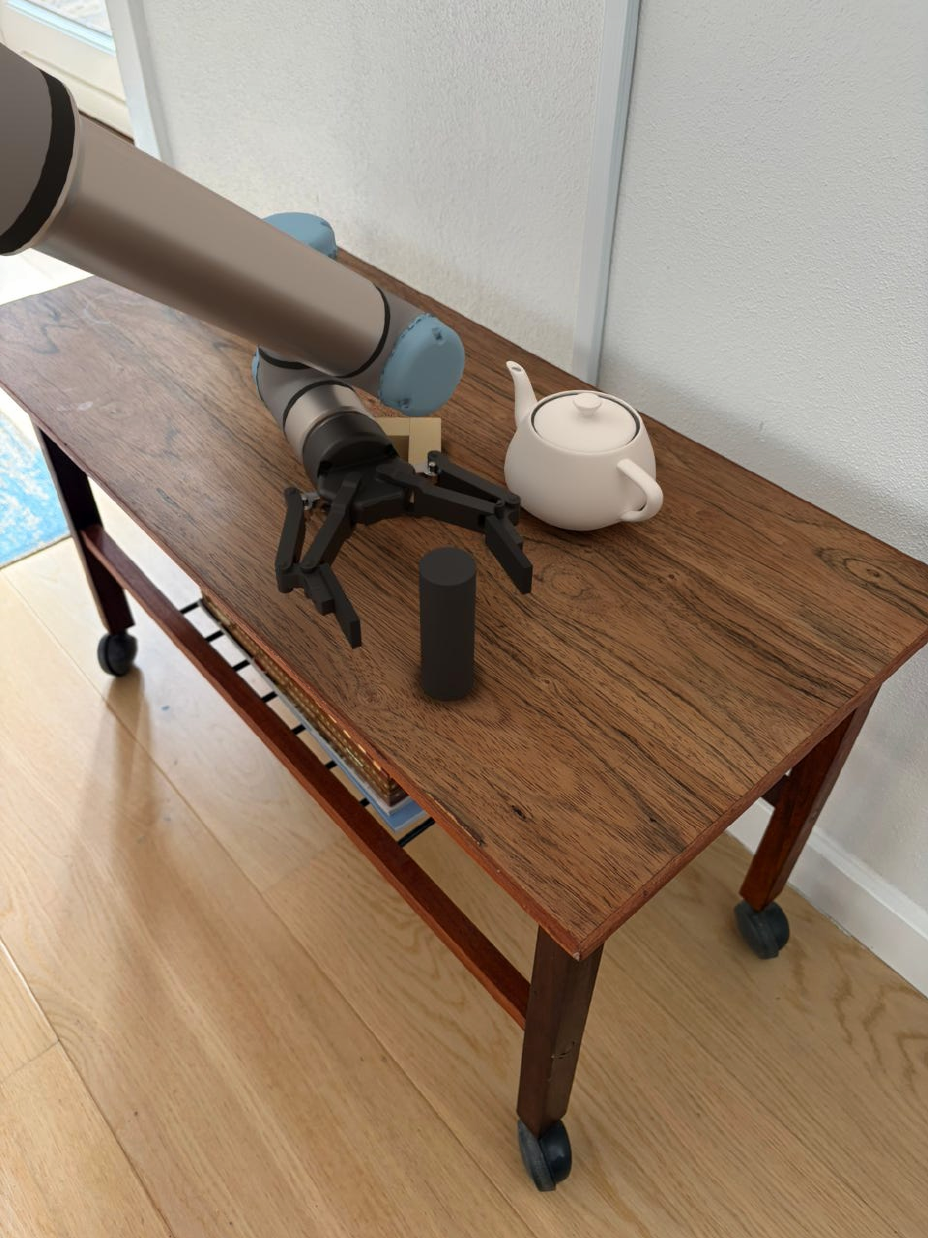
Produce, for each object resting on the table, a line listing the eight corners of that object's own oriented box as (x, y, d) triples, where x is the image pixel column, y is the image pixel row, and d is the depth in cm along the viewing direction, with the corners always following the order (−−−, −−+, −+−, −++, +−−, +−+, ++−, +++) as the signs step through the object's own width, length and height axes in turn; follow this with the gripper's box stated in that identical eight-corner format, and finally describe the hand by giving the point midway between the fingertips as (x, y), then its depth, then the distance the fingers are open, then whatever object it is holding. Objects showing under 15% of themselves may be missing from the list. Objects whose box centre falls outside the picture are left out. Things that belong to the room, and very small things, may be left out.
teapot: (707, 533, 91) (730, 432, 84) (586, 589, 86) (600, 487, 78) (559, 415, 104) (568, 319, 97) (446, 458, 99) (446, 359, 91)
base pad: (322, 511, 93) (319, 485, 91) (331, 442, 100) (329, 416, 98) (440, 512, 93) (440, 485, 91) (441, 442, 101) (441, 417, 99)
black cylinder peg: (420, 701, 77) (417, 585, 69) (421, 662, 80) (419, 546, 71) (473, 701, 77) (477, 585, 69) (472, 662, 80) (475, 546, 71)
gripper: (473, 450, 94) (589, 595, 80) (206, 520, 86) (284, 694, 73) (475, 378, 88) (599, 521, 75) (190, 447, 81) (271, 620, 67)
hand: (444, 607), depth 74 cm, fingers open, 13 cm apart
